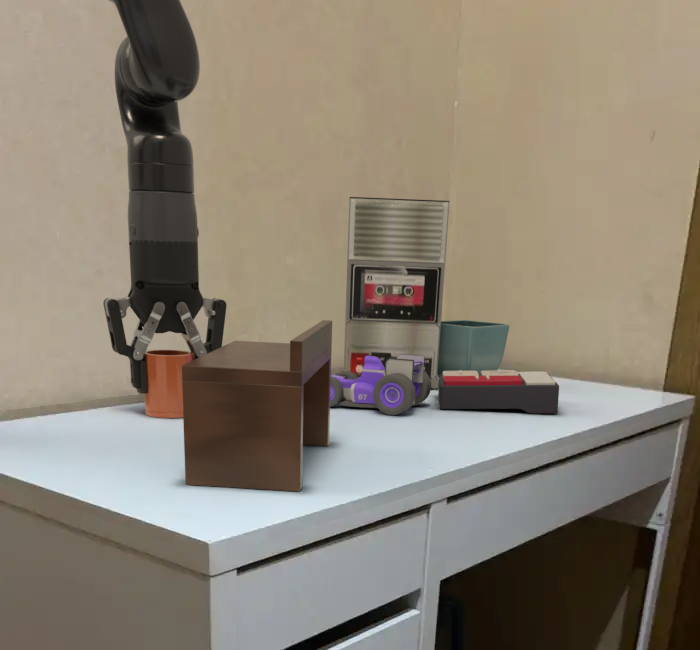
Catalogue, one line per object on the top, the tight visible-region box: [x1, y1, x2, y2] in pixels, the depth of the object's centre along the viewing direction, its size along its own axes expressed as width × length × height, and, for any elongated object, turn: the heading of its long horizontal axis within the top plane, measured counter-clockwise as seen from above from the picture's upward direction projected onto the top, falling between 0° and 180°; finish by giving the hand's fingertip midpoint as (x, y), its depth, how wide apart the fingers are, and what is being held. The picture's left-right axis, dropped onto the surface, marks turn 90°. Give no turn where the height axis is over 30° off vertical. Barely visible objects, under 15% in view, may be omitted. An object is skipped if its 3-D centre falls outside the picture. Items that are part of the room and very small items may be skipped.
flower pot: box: [437, 319, 511, 378], centre depth 139 cm, size 9×9×9 cm
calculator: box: [437, 369, 560, 415], centre depth 124 cm, size 11×4×15 cm
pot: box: [143, 349, 194, 419], centre depth 110 cm, size 6×6×7 cm
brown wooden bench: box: [182, 319, 333, 492], centre depth 87 cm, size 10×20×12 cm, turn 174°
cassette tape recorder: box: [343, 196, 450, 390], centre depth 133 cm, size 14×6×25 cm, turn 90°
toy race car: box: [330, 354, 432, 416], centre depth 119 cm, size 10×15×6 cm, turn 70°
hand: (169, 391), depth 110 cm, fingers closed on pot, 6 cm apart
